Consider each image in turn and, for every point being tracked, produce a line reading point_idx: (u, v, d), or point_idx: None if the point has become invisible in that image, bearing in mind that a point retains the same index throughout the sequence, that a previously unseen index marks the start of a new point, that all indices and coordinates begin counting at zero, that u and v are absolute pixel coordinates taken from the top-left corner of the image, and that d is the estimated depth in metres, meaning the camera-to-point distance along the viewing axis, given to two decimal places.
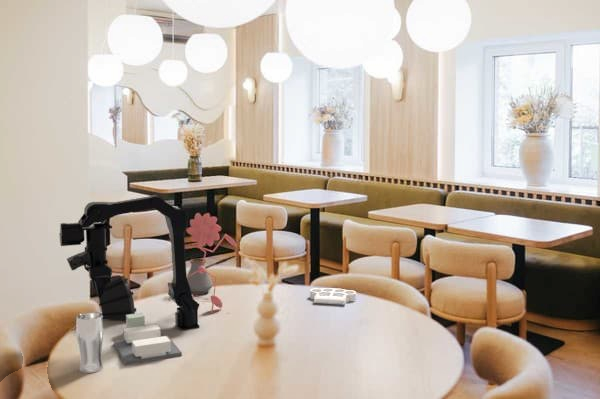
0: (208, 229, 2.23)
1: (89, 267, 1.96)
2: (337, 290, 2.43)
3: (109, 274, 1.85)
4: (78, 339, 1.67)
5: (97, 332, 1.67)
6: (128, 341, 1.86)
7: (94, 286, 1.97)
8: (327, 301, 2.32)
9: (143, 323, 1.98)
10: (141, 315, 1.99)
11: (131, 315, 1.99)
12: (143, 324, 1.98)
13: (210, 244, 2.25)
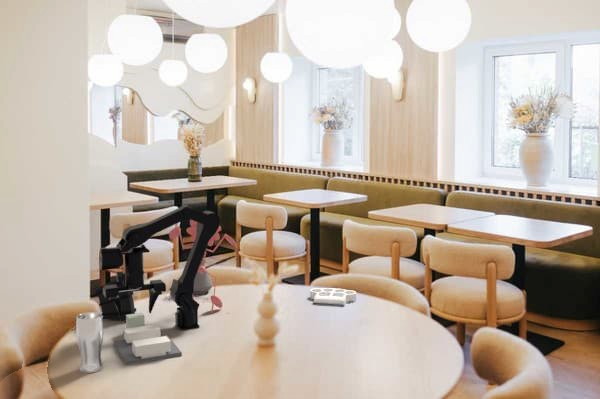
0: None
1: (151, 290, 2.02)
2: (337, 290, 2.43)
3: (105, 296, 1.92)
4: (78, 339, 1.67)
5: (97, 332, 1.67)
6: (128, 341, 1.86)
7: None
8: (327, 301, 2.32)
9: (143, 323, 1.98)
10: (141, 315, 1.99)
11: (131, 315, 1.99)
12: (143, 324, 1.98)
13: (210, 244, 2.25)
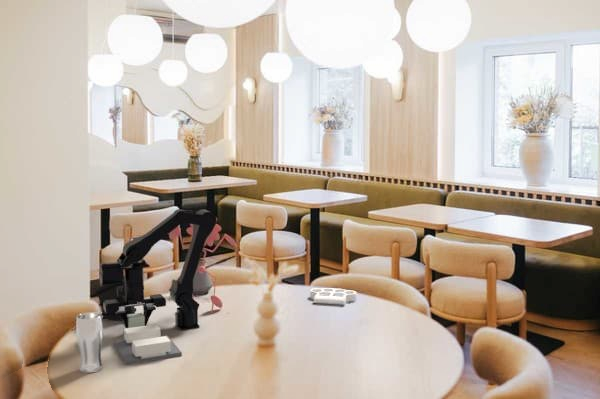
0: None
1: (145, 305, 2.02)
2: (337, 290, 2.44)
3: (105, 311, 1.92)
4: (78, 339, 1.67)
5: (97, 332, 1.67)
6: (128, 341, 1.86)
7: None
8: (327, 301, 2.33)
9: (143, 323, 1.98)
10: (141, 315, 1.99)
11: (131, 315, 1.99)
12: (143, 324, 1.98)
13: (210, 244, 2.25)
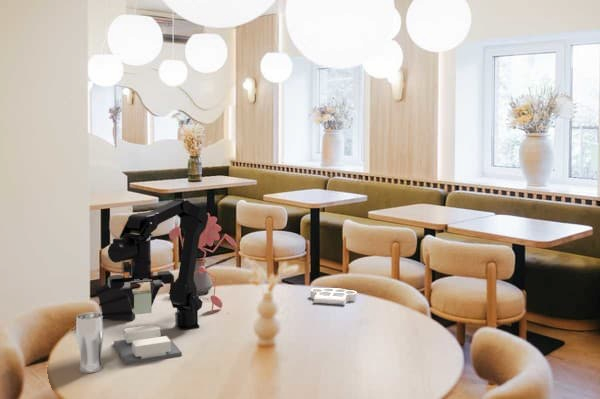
0: (208, 229, 2.23)
1: (152, 282, 1.90)
2: (338, 290, 2.44)
3: (110, 287, 1.81)
4: (78, 339, 1.67)
5: (97, 332, 1.67)
6: (128, 341, 1.86)
7: None
8: (327, 301, 2.33)
9: (150, 300, 1.87)
10: (148, 292, 1.88)
11: (137, 292, 1.87)
12: (150, 301, 1.87)
13: (210, 244, 2.25)
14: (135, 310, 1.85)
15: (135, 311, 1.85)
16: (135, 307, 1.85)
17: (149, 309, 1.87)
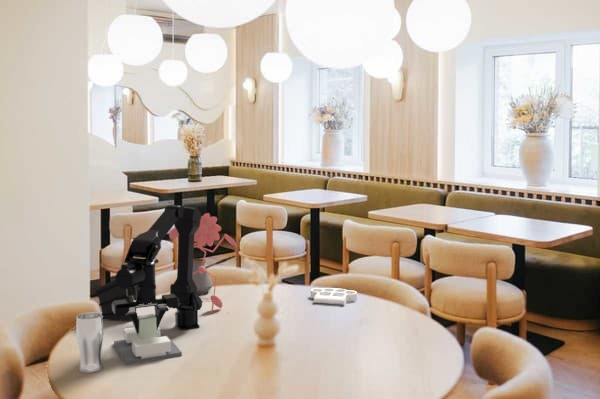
0: (208, 229, 2.23)
1: (156, 305, 1.87)
2: (338, 290, 2.44)
3: (115, 312, 1.78)
4: (78, 339, 1.67)
5: (97, 332, 1.67)
6: (128, 341, 1.86)
7: None
8: (327, 301, 2.33)
9: (155, 325, 1.84)
10: (153, 316, 1.84)
11: (142, 316, 1.84)
12: (155, 326, 1.84)
13: (210, 244, 2.25)
14: (140, 335, 1.82)
15: (140, 336, 1.82)
16: (140, 332, 1.82)
17: (154, 334, 1.84)
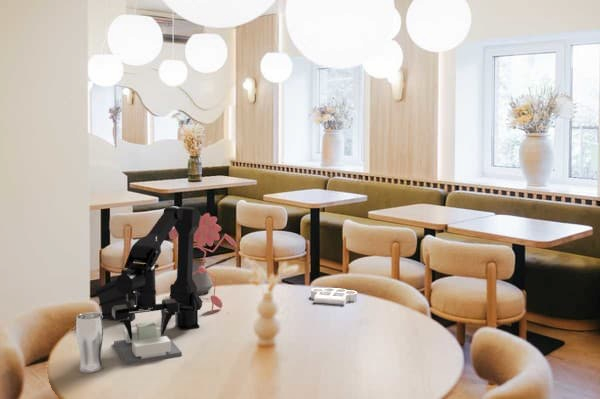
0: (208, 229, 2.23)
1: (163, 310, 1.88)
2: (338, 290, 2.44)
3: (115, 318, 1.78)
4: (78, 339, 1.67)
5: (97, 332, 1.67)
6: (128, 341, 1.86)
7: None
8: (327, 301, 2.33)
9: (155, 333, 1.84)
10: (153, 324, 1.85)
11: (142, 324, 1.85)
12: (155, 334, 1.84)
13: (210, 244, 2.25)
14: None
15: None
16: None
17: None
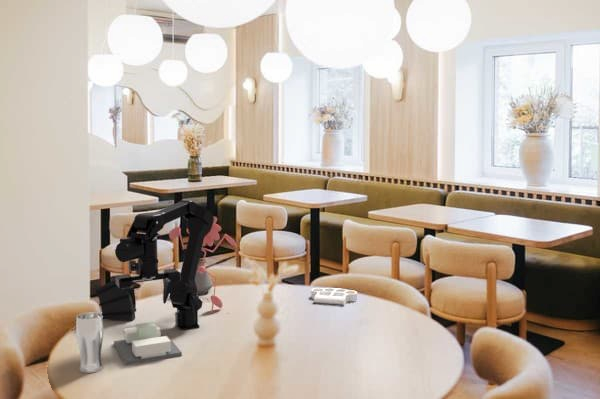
0: None
1: (165, 279, 1.94)
2: (338, 290, 2.44)
3: (119, 286, 1.84)
4: (78, 339, 1.67)
5: (97, 332, 1.67)
6: (128, 341, 1.86)
7: (163, 299, 1.93)
8: (327, 301, 2.33)
9: (155, 333, 1.84)
10: (153, 324, 1.85)
11: (142, 324, 1.85)
12: (155, 334, 1.84)
13: (210, 244, 2.25)
14: None
15: None
16: None
17: None
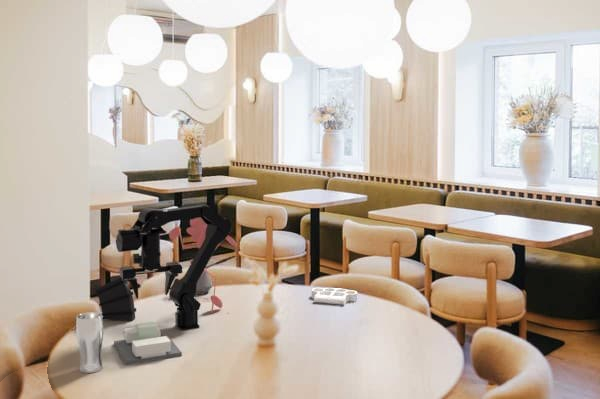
0: None
1: (167, 272, 2.02)
2: (339, 290, 2.44)
3: (122, 277, 1.92)
4: (78, 339, 1.67)
5: (97, 332, 1.67)
6: (128, 341, 1.86)
7: (165, 291, 2.01)
8: (327, 300, 2.33)
9: (155, 333, 1.84)
10: (153, 324, 1.85)
11: (142, 324, 1.85)
12: (155, 334, 1.84)
13: None
14: None
15: None
16: None
17: None
